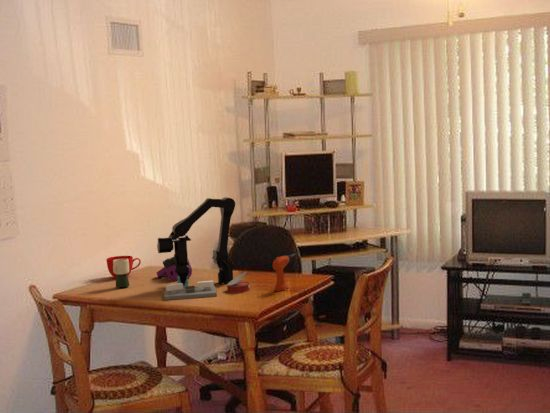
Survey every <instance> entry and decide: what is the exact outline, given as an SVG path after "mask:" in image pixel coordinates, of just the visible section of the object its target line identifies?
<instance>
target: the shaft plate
mask: <svg viewBox="0 0 550 413" xmlns="http://www.w3.org/2000/svg"><path fill="white" fill-rule="evenodd" d="M196 283H197V286H196V285H188V286H185V288H183V284H182V283H178V284H177V283H172V284H171V283H170V284H166V285H165V289H164V295H163V296H164V297H163V299H164V301H172V300H184V299H186V300H187V299H199V298H207V297H208V298H212V297H213V298H214V297H217V296H218V295H217V290H216V286H215V283H214V280H205V281H204V280H203V281H197V282H196Z"/></svg>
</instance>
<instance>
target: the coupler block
mask: <svg viewBox="0 0 550 413" xmlns="http://www.w3.org/2000/svg"><path fill="white" fill-rule="evenodd" d="M176 282H177V283H176V284H178V283H181V281H180V277H179V276H178V280H176ZM185 286H189V279H188V276H187V279H186V282H185V285H184V286H183V288H185Z"/></svg>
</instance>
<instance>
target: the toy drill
mask: <svg viewBox="0 0 550 413" xmlns="http://www.w3.org/2000/svg"><path fill="white" fill-rule="evenodd" d="M294 256H296V253H295V252H294V253H292V254H288V255H287V254H286V255H281V256H277V257H276V258H275V259H274V260H273V262H272V268H273V270H274V271H275V274H276V284H275V286H274V288H273V289H274V291H275V292H282V291H281V290H284V291H286V290H285V289H287V290H289V286H290V285H288V284H286V281H285V272H284V269H285V267H286V266H287V265H288V264H289V262H290V261H291V260H292V257H294Z"/></svg>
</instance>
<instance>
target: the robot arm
mask: <svg viewBox="0 0 550 413" xmlns="http://www.w3.org/2000/svg"><path fill="white" fill-rule="evenodd" d="M212 208H219V210H220V215H221V216H220V228H219V234H218V235H219V236H218V243H217V248H216V249H213V251H212V253H213V254H212V258H211V259H212V260H213V263H214V264H215V265H216V266H217V268H218V272H217V281H218V283H219V284H220V285H223V284H228V283H229V282H230V281H232V280H233V279H234V267H235V265H234V264H233V263H232V262H230V261H229V260H230V259H229V258H230V257H229V251H228V250H229V249H228V243H229V236H230V228H231V227H230V226H231V218H232V216H233V214H234V212H235V208H236V201H235V200H234V199H233V198H231V197H227V196H226V197H222V198H212V197H211V198H207V197H206V199H205V200H204V201H203V202H202V203H201V204H200V205H199V206H197V208H195V210H193V211H192V212H191V213H189V215H187V217H185V218H183V219H181V220H180V221H178V222H176V223H175V224H173V226H172V228H171V229H172V231H171V233H169V236H168V237H158V238H157V244H156V247H157V248H156V249H157V253H158V254H165V253H166V254H167V253H171V252H172V251H173V250H174V254H173V256H172V257H169V258H166V259H165V260H163V261H162V264H163V266H164V267H165V269H167V268H168V267H170V266H173V265H175V273H177V274H178V275H179V277H180V281H181V283H182V284H183V286H184V285H185V282H186V279H187V276H188V273H189V263H190V262H189V263H188V260H189V258H188V254H189V253H188V243H187V242H190V241H192V239H191V238H190V237H189V236H188V232H189V231H190V230H191V228H192V226H193V225H194V224H195V223H196V222H197V221H198V220H199V219H201V218H202V216H204V215H205V214H206V213H207V212H208V211H209V210H210V209H212ZM164 267H163V268H164Z"/></svg>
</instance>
